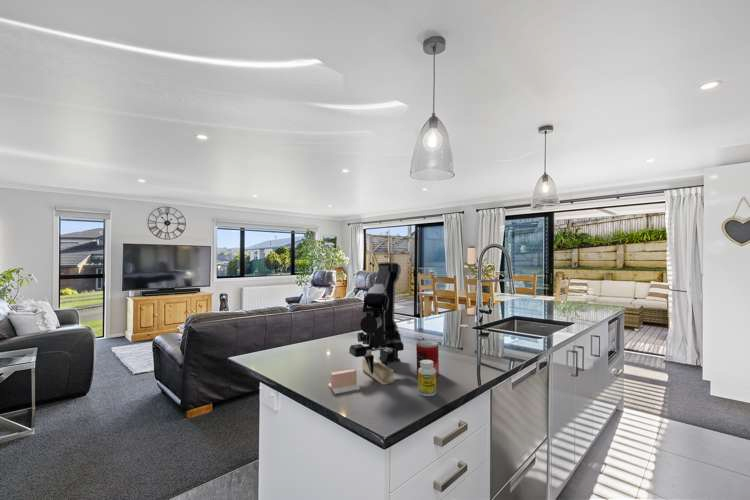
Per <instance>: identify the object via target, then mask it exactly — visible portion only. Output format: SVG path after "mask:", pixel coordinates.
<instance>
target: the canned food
mask: <svg viewBox="0 0 750 500" xmlns="http://www.w3.org/2000/svg"><path fill="white" fill-rule="evenodd" d="M415 349H416V350H415V351H416V373H417V375H418V369H419V368H420V367H421V366H420V361H421V360H431V361H433V368H434V369H435V370H436V377H437V376H438V375H439V371H440V370H439V369H440V367H439V366H440V364H439V363H440V362H439V358H440V357H439V342H437V341H435V340H428V339H426V340H419V341H417V342H416V348H415Z"/></svg>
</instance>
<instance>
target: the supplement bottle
mask: <svg viewBox="0 0 750 500" xmlns="http://www.w3.org/2000/svg"><path fill="white" fill-rule="evenodd" d="M420 366H421V367H420V368H419V369H418V374H417V379H418V380H417V385H418V388H417V389H418V393H419V395H420V396H424V397H432V396H435V395H436V394H437V376H436V370H435V369H434V368H433V361H431V360H421V361H420Z"/></svg>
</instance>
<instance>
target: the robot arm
mask: <svg viewBox="0 0 750 500" xmlns="http://www.w3.org/2000/svg"><path fill="white" fill-rule="evenodd" d="M401 273H402V269H401V265H400V264H399V263H398V262H390V261H383V262H382V261H381V262H379V263H378V270H377V274H376V277H375V280H374V284H373V286H371V287H370V288H368V290H367V292H366V294H365V296H364V300H363V305H362V310H361V312H362V313H365V316H364V317H363V318H362V319H361V321H360V323H359V325H360V329H361V331H362V332H357V341H358V343H359V344H358V343H356V344H351V345H350V346H349V349H348V350H349V352H348V353H349V354H350V355H351V356H352V357H354V358H362V357H363V359H365V360H366V362H367V365H368V367H369V370H370V373H371V374H373V364H374V359H375V355H373V354H372V352H376V351H379V357H378V359H380V363H382V364H384V365H385V366H387V365H388V364H389V363H392V362H399V361H401V358H399V352H401V351H404V350H405V349H404V348H405V345H404V343H403V342H402V337H401V334H400V331H399V327H398V324H397V322H396V321H395V301H396V300H395V294H396V290H395V289H396V284H397V282H398V281H399V279H400V275H401ZM361 342H362V344H361ZM387 367H388V366H387Z"/></svg>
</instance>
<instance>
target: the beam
mask: <svg viewBox="0 0 750 500" xmlns="http://www.w3.org/2000/svg"><path fill="white" fill-rule="evenodd" d="M362 371H363V372H364V373H366V374H367V375H369V376H370V377H372V378H373V379H374V380H375V381H377V382H378V383H380V384H381V385H388V384H393V383H394V370H393V369H392V368H391V367H389V366H385V365H384V364H382V363H381V361H378V359H376V358H374V364H373V374H371V373H370V370H369V367H368V365H367V362H366V360H365V358H363V359H362Z"/></svg>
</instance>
